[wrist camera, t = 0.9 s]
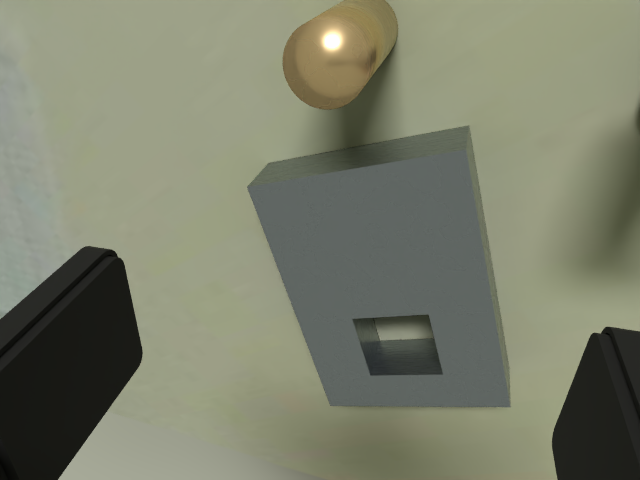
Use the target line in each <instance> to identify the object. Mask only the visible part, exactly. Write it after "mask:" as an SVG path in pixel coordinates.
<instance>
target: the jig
mask: <svg viewBox="0 0 640 480" xmlns="http://www.w3.org/2000/svg"><path fill="white" fill-rule="evenodd" d="M247 188H248V191H249V193H250V196H251V198H252V201H253V204H254V206H255V209H256V212H257V214H258V217H259V220H260V222H261V225H262V227H263V230H264V233H265V235H266V238H267V241H268V243H269V246H270V248H271V251H272V254H273V256H274V259H275V262H276V264H277V267H278V269H279V272H280V275H281V277H282V280H283V283H284V285H285V288H286V290H287V293H288V296H289V298H290V301H291V304H292V306H293V309H294V311H295V314H296V317H297V319H298V322H299V325H300V327H301V330H302V332H303V335H304V338H305V340H306V343H307V346H308V348H309V351H310V353H311V356H312V359H313V361H314V364H315V367H316V369H317V372H318V374H319V377H320V380H321V382H322V385H323V388H324V390H325V393H326V395H327V398H328V401H329V403H330V406H432V407H511V406H510V374H509V363H508V357H507V351H506V345H505V339H504V333H503V327H502V321H501V315H500V309H499V303H498V297H497V291H496V285H495V279H494V273H493V267H492V261H491V255H490V249H489V242H488V236H487V230H486V224H485V218H484V212H483V206H482V200H481V194H480V188H479V182H478V176H477V170H476V164H475V158H474V152H473V146H472V140H471V134H470V128H469V126H464V127H459V128H454V129H448V130H443V131H438V132H432V133H427V134H422V135H416V136H411V137H406V138H400V139H395V140H390V141H384V142H379V143H374V144H368V145H363V146H358V147H352V148H347V149H342V150H336V151H331V152H326V153H320V154H315V155H310V156H304V157H299V158H294V159H288V160H283V161H278V162H272V163H268V164H267V166H266V167H265V168H264V169H263V170H262V171H261V172H260V173H259V174H258V175H257V177H256V178H255V179H254V180H253V181H252V182H251V183H250V184H249V185H248V187H247ZM428 314H429V318H430V322H431V327H432V331H433V335H434V339H412V340H388V341H380V340H379V336H378V333H377V330H376V326H375V323H374V320H373V318H376V317H393V316H410V315H428Z"/></svg>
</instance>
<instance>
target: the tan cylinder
mask: <svg viewBox="0 0 640 480" xmlns="http://www.w3.org/2000/svg"><path fill="white" fill-rule="evenodd" d="M397 34H398V24H397V19H396V16H395V13H394V11H393V9H392V8H391V6H390V5H389V4H388V3H387V2H386V1H385V0H344V1H342V2H340V3H339V4H337V5H335V6H334V7H332V8H330V9H329V10H327V11H325V12H323V13H322V14H320V15H318V16H317V17H315V18H313V19H312V20H310V21H308V22H306V23H305V24H303V25H301V26H300V27H299V28H297V29H296V30H295V31H294V32H293V33H292V35H291V36H290V38H289V39H288V41H287V43H286V46H285V49H284V53H283V71H284V75H285V78H286V81H287V83H288V85H289V87H290V88H291V90H292V91H293V92H294V94H295V95H296V96H297V97H298V98H299V99H300V100H302V101H303V102H305V103H306V104H308V105H310V106H312V107H315V108H319V109H336V108H340V107H343V106H345V105H347V104H348V103H350V102H351V101H352V100H354V99H355V98H356V97H357V95H358V94H359V93H360V92H361V90H362V89H363V88H364V86H365V85H366V84H367V82H368V81H369V80H370V78H371V77H372V76H373V74H374V73H375V72H376V70H377V69H378V67H379V66H380V65H381V63H382V62H383V61H384V59H385V58H386V57H387V55H388V54H389V53H390V51H391V50H392V48H393V47H394V45H395V42H396V39H397Z"/></svg>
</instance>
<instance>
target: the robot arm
mask: <svg viewBox="0 0 640 480" xmlns="http://www.w3.org/2000/svg"><path fill="white" fill-rule="evenodd" d="M142 354H143V352H142V346H141V341H140V337H139V332H138V327H137V322H136V318H135V313H134V308H133V303H132V299H131V294H130V289H129V284H128V280H127V275H126V270H125V265H124V262H123V260H122V259H121V258H118V256H117V254H116V252H115V251H113V250H110V249H104V248H97V247H91V246H86V247H84V248H82V249H81V250H79V251H78V252H77V253H76V254H75V255H74V256H72V257H71V258H70V259H69V260H68V261H67V262H66V263H64V264H63V265H62V266H61V267H60V268H59V269H58V270H56V271H55V272H54V273H53V274H52V275H51V276H50V277H48V278H47V279H46V280H45V281H44V282H43V283H42V284H40V285H39V286H38V287H37V288H36V289H35V290H34V291H32V292H31V293H30V294H29V295H28V296H27V297H25V298H24V299H23V300H22V301H21V302H20V303H19V304H17V305H16V306H15V307H14V308H13V309H12V310H11V311H9V312H8V313H7V314H6V315H5V316H4V317H3V318H1V319H0V480H58V479H59V477H60V476H61V474H62V473H63V471H64V470H65V469H66V467H67V466H68V465H69V463H70V462H71V460H72V459H73V458H74V456H75V455H76V453H77V452H78V451H79V449H80V448H81V447H82V445H83V444H84V442H85V441H86V440H87V438H88V437H89V435H90V434H91V433H92V431H93V430H94V428H95V427H96V426H97V424H98V423H99V422H100V420H101V419H102V417H103V416H104V415H105V413H106V412H107V410H108V409H109V408H110V406H111V405H112V403H113V402H114V401H115V399H116V398H117V396H118V395H119V394H120V392H121V391H122V390H123V388H124V387H125V385H126V384H127V383H128V381H129V380H130V378H131V377H132V376H133V374H134V373H135V371H136V370H137V369H138V367H139V365H140V363H141V360H142ZM552 449H553V455H554V461H555V467H556V473H557V479H558V480H640V332H639V331H632V330H626V329H620V328H613V327H605V328H604V329H603V331H602V333H601V334H599V333H593V334H592V335H591V336H590V338H589V341H588V343H587V346H586V348H585V351H584V353H583V356H582V359H581V361H580V364H579V366H578V369H577V371H576V374H575V377H574V379H573V382H572V384H571V387H570V389H569V392H568V395H567V397H566V400H565V402H564V405H563V407H562V410H561V413H560V415H559V418H558V420H557V423H556V425H555V428H554V431H553V437H552Z"/></svg>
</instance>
